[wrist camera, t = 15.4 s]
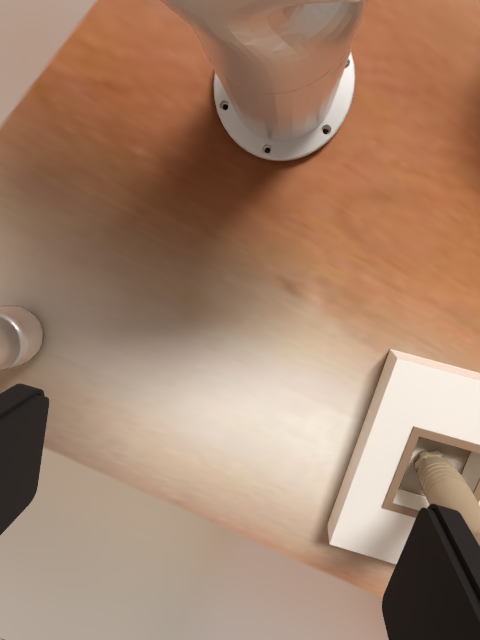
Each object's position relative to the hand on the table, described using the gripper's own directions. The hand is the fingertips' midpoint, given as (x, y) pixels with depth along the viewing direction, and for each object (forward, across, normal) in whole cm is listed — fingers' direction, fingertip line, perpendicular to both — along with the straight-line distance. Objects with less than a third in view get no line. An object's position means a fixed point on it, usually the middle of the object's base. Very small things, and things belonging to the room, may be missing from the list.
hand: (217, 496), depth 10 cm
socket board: (+33, -21, +14) cm, 42 cm away
